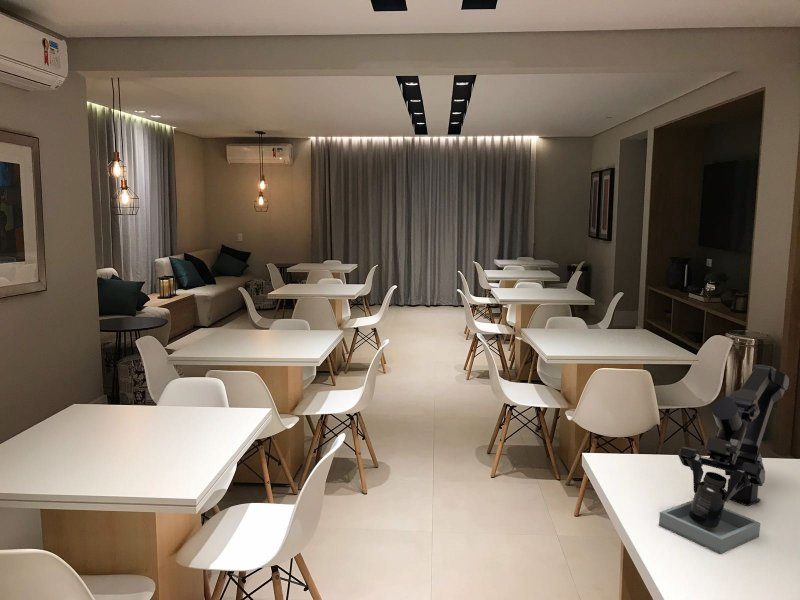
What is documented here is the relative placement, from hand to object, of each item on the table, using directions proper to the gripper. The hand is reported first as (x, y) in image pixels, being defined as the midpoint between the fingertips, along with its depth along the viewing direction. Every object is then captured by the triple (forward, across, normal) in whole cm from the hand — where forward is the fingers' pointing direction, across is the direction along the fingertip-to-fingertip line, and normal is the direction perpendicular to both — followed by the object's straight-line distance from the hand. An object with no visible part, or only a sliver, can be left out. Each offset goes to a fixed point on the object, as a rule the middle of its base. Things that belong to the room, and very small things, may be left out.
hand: (709, 496), depth 161 cm
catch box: (+6, 0, +7) cm, 9 cm away
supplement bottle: (+4, -1, +6) cm, 8 cm away
